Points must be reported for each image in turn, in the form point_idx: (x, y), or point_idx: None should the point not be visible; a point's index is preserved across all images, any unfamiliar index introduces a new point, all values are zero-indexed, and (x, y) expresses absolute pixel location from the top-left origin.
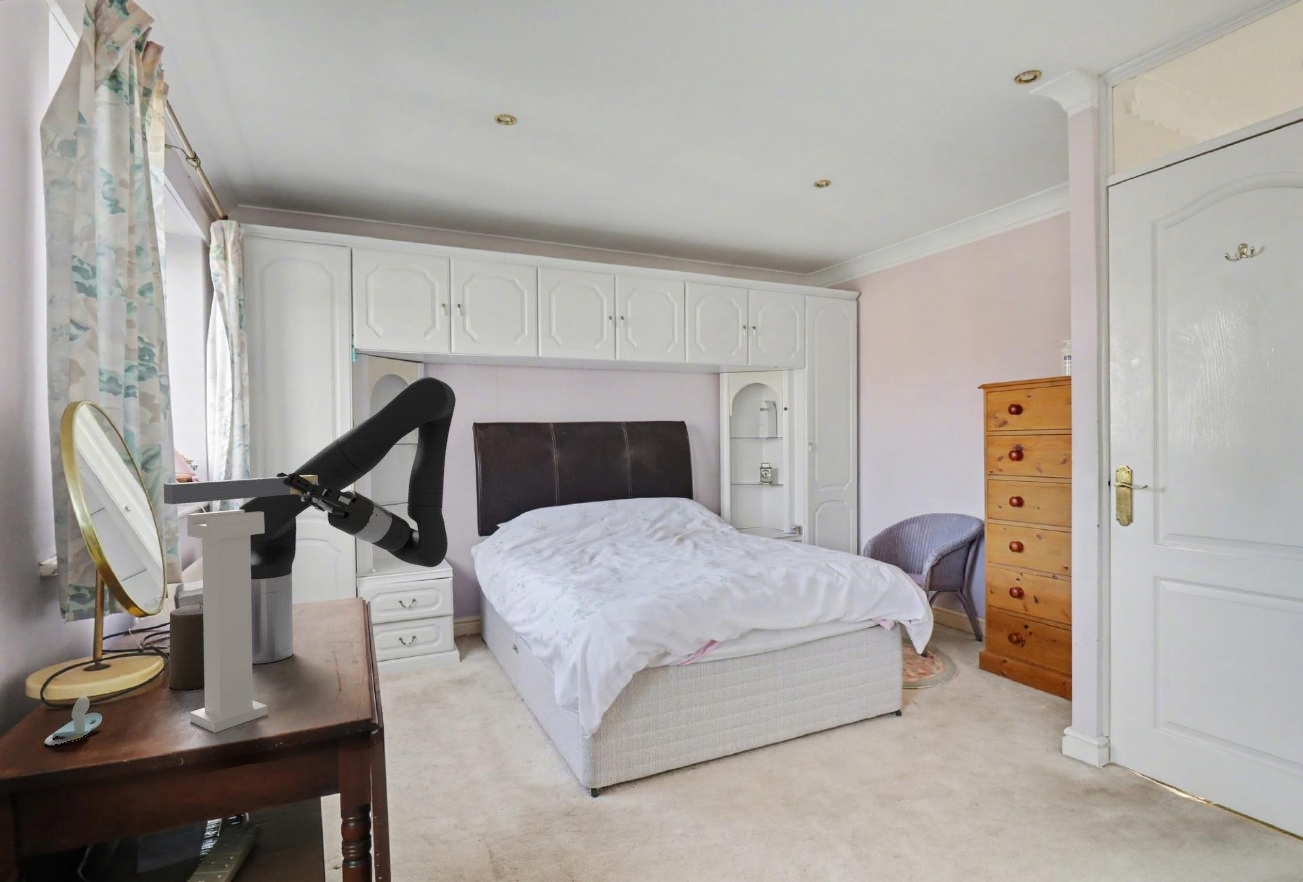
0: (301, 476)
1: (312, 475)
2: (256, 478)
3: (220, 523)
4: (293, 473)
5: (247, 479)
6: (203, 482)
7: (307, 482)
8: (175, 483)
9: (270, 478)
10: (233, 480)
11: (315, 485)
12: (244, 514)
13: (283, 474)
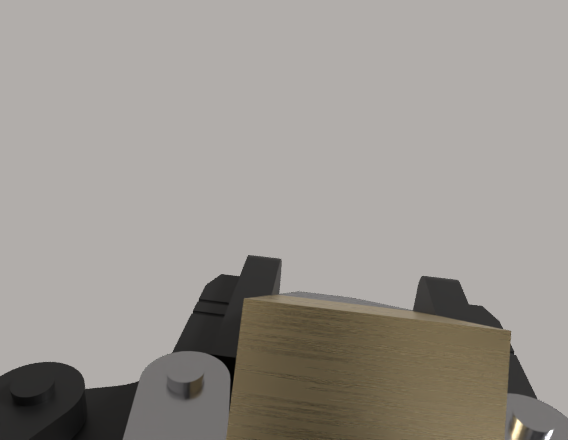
0: (271, 296)
1: (326, 307)
2: (364, 302)
3: None
4: (248, 259)
5: (321, 296)
6: (302, 292)
7: (179, 349)
8: (339, 296)
9: (284, 293)
10: (310, 294)
11: (108, 392)
12: None
13: (422, 293)
